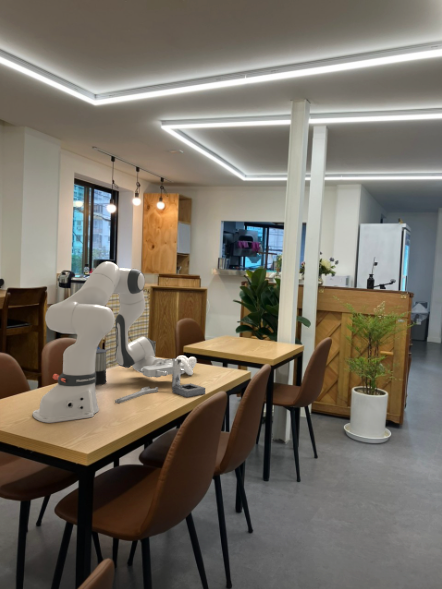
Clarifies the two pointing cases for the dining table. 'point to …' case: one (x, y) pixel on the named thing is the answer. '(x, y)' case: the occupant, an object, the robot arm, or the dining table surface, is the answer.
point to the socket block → (188, 390)
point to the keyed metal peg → (176, 372)
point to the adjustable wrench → (137, 394)
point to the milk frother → (100, 366)
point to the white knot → (188, 364)
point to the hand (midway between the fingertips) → (174, 372)
